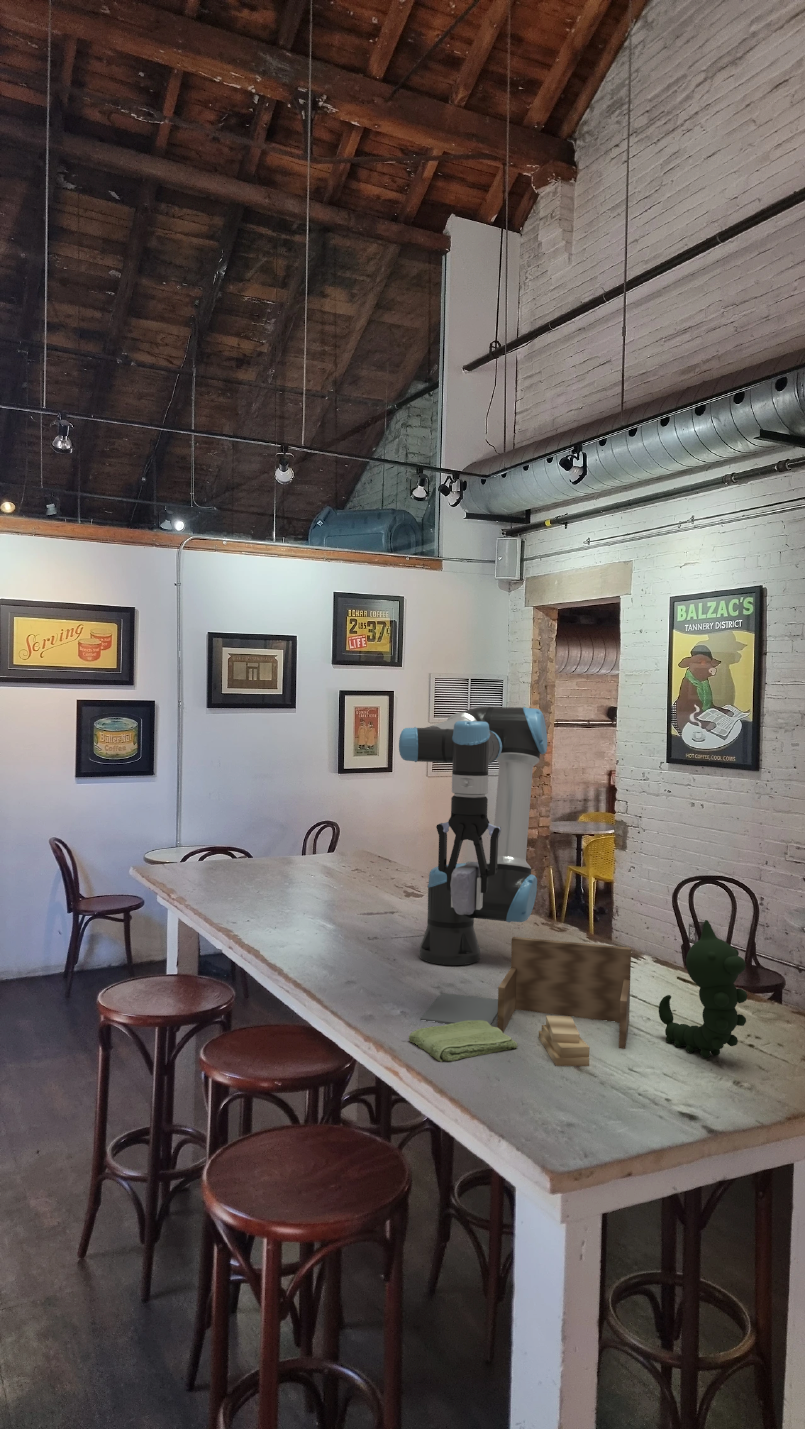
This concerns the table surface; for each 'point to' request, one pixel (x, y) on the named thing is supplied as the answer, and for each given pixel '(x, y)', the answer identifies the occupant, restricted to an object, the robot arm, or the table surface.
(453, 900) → the stone block
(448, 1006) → the charcoal panel
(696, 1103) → the table surface
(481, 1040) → the washcloth
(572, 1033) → the offcut stack
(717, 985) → the toy figurine
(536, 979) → the walnut rack
